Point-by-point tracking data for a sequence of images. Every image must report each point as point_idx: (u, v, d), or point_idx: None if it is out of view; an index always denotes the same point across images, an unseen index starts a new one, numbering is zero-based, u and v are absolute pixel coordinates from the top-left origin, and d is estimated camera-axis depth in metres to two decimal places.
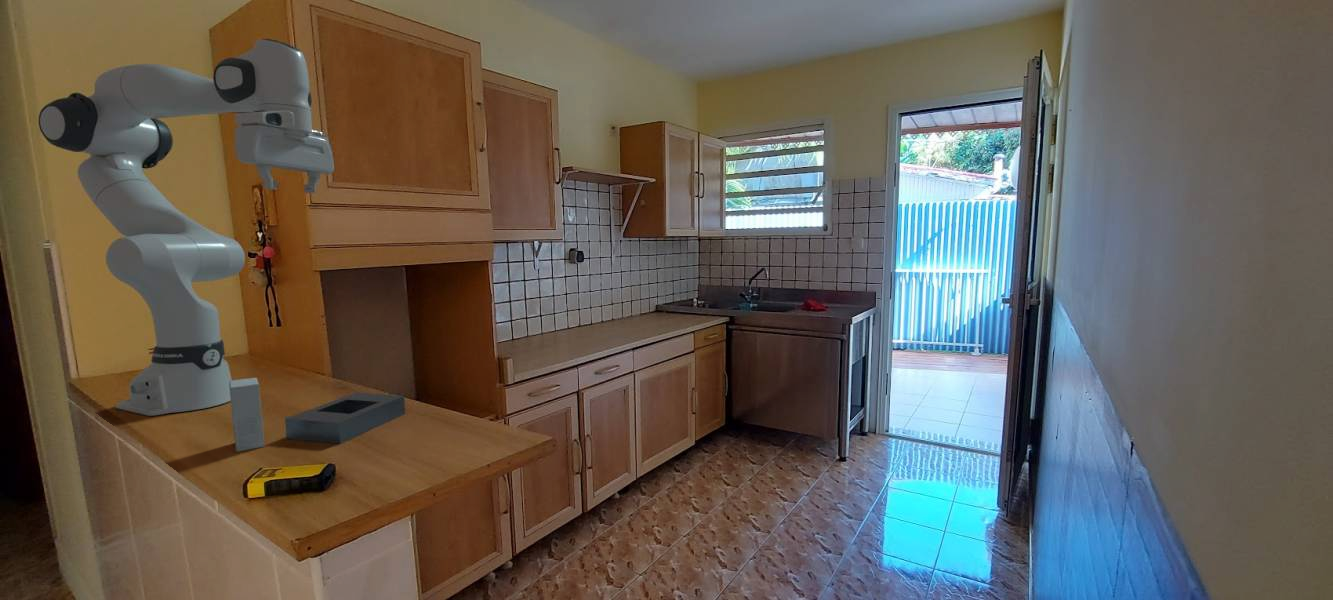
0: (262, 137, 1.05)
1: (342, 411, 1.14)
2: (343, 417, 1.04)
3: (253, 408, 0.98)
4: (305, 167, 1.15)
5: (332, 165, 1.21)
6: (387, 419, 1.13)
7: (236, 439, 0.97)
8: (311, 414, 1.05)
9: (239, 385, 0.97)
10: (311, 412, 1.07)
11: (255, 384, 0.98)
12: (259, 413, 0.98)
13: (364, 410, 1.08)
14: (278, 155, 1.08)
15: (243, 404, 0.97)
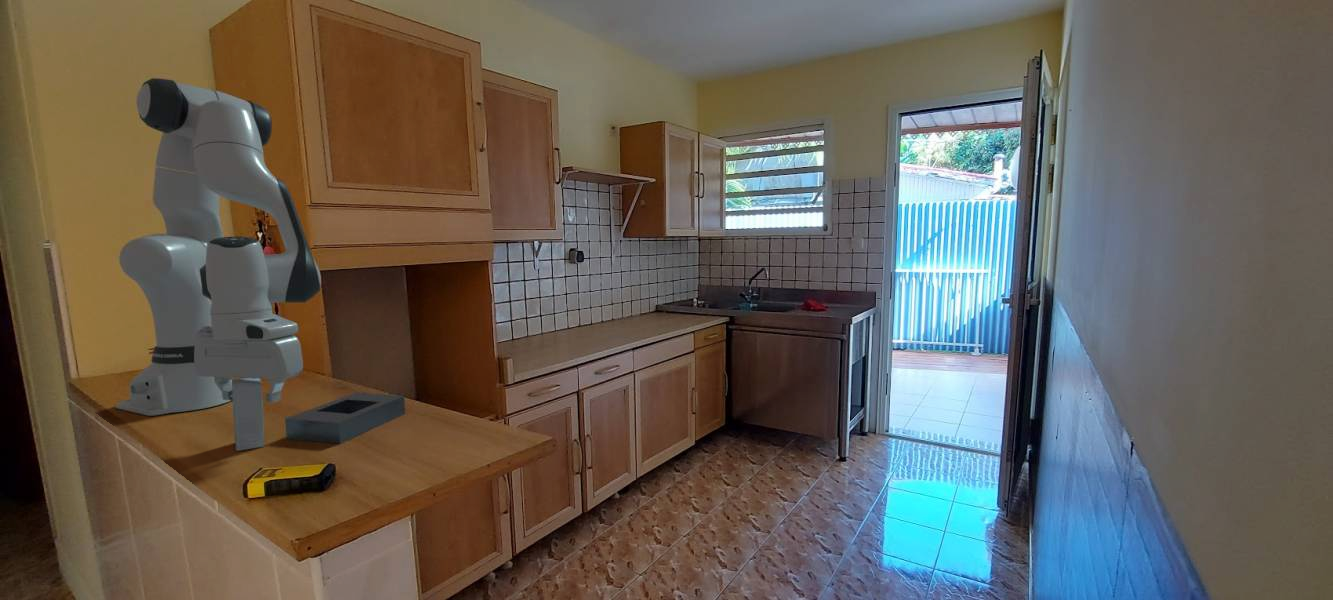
0: None
1: (342, 411, 1.14)
2: (343, 417, 1.04)
3: (255, 408, 0.98)
4: None
5: None
6: (387, 419, 1.13)
7: (237, 438, 0.97)
8: (311, 414, 1.05)
9: (242, 384, 0.97)
10: (311, 412, 1.07)
11: (258, 384, 0.98)
12: (260, 413, 0.99)
13: (364, 410, 1.08)
14: None
15: (245, 403, 0.97)
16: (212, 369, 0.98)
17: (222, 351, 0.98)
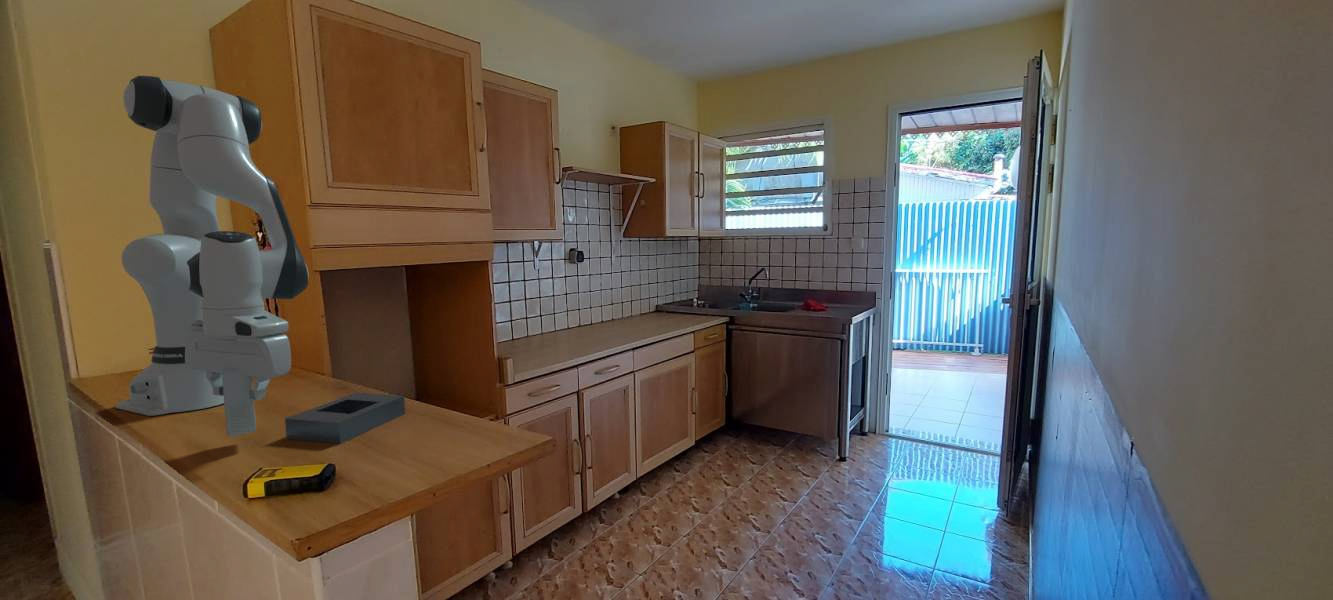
0: None
1: (342, 411, 1.14)
2: (343, 417, 1.04)
3: (244, 393, 0.97)
4: None
5: None
6: (387, 419, 1.13)
7: (227, 423, 0.96)
8: (311, 414, 1.05)
9: (231, 369, 0.96)
10: (311, 412, 1.07)
11: None
12: None
13: (364, 410, 1.08)
14: None
15: (235, 388, 0.96)
16: (202, 363, 0.98)
17: (212, 346, 0.97)
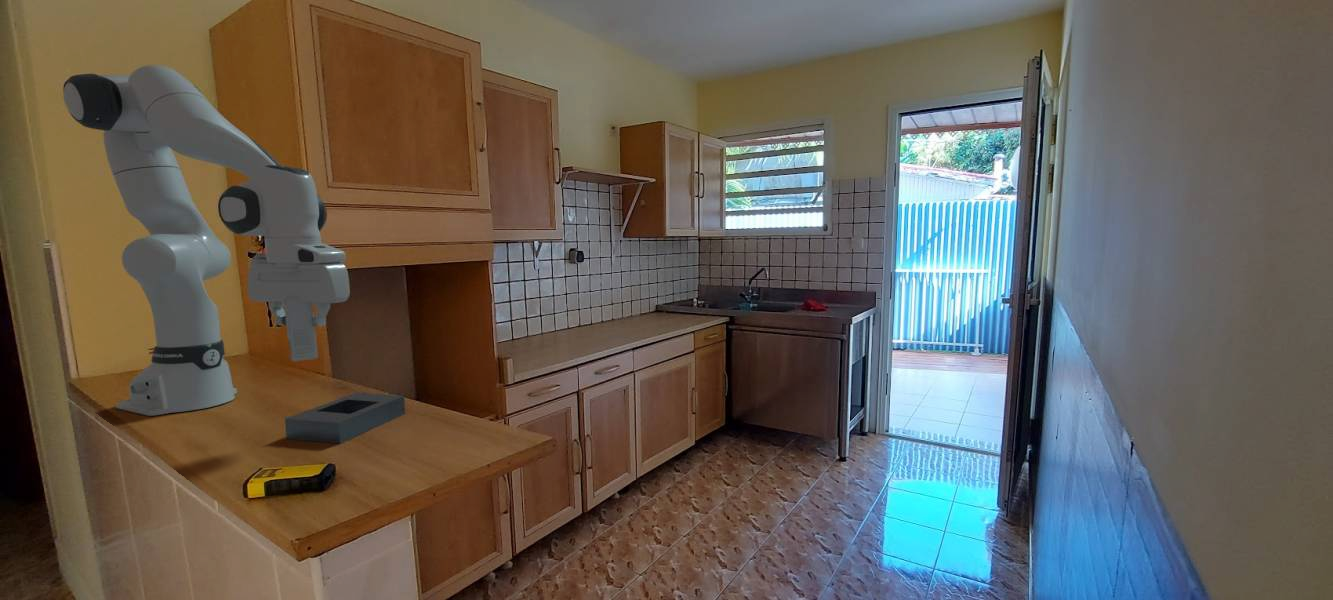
0: None
1: (342, 411, 1.14)
2: (343, 417, 1.04)
3: (307, 320, 1.02)
4: None
5: None
6: (387, 419, 1.13)
7: (292, 349, 1.01)
8: (311, 414, 1.05)
9: (294, 297, 1.01)
10: (311, 412, 1.07)
11: None
12: None
13: (364, 410, 1.08)
14: None
15: (298, 315, 1.01)
16: (265, 293, 1.02)
17: (274, 276, 1.02)
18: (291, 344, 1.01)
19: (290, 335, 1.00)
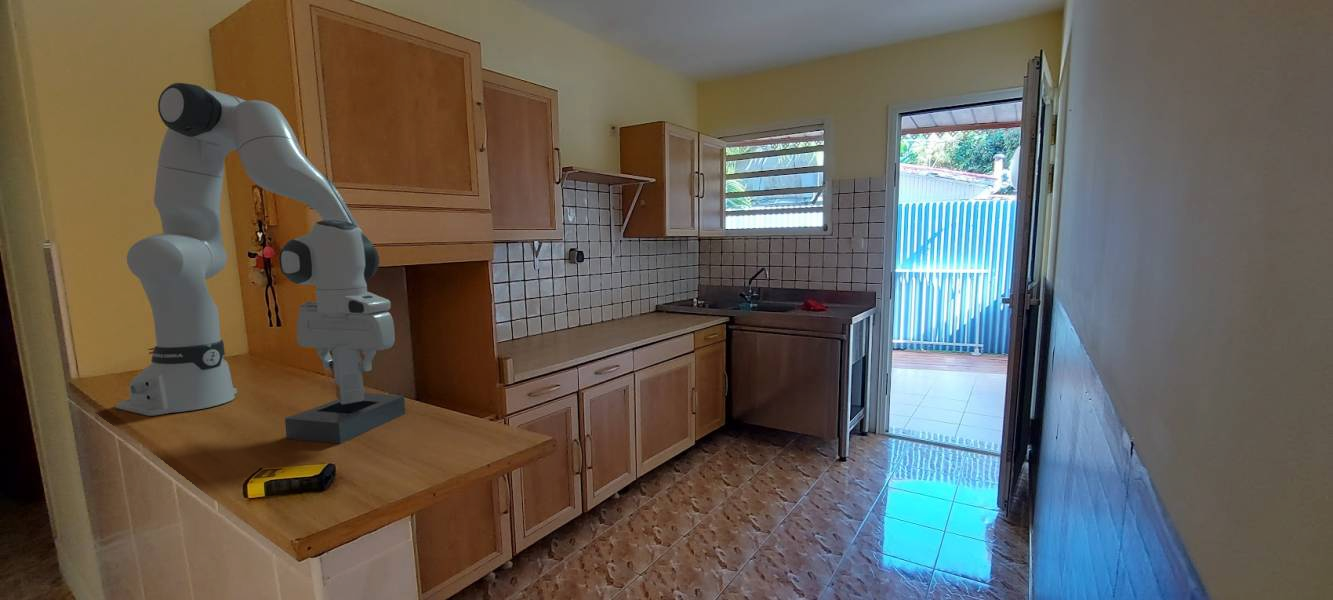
0: None
1: (342, 411, 1.14)
2: (343, 417, 1.04)
3: (355, 366, 1.08)
4: None
5: None
6: (387, 419, 1.13)
7: (341, 393, 1.07)
8: (311, 414, 1.05)
9: (343, 344, 1.07)
10: (311, 412, 1.07)
11: None
12: None
13: (364, 410, 1.08)
14: None
15: (347, 361, 1.07)
16: (314, 340, 1.08)
17: (323, 324, 1.08)
18: (340, 388, 1.07)
19: (339, 380, 1.07)
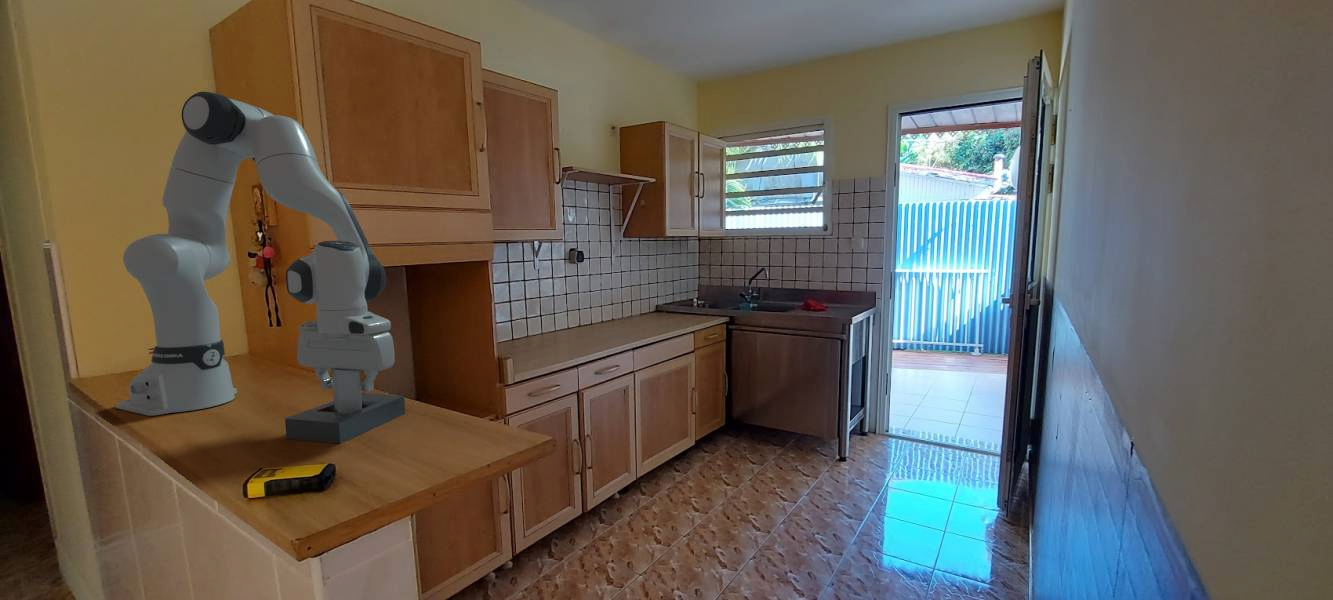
0: None
1: None
2: (343, 417, 1.04)
3: (354, 392, 1.08)
4: None
5: None
6: (387, 419, 1.13)
7: None
8: (311, 414, 1.05)
9: (343, 371, 1.07)
10: (311, 412, 1.07)
11: (356, 370, 1.08)
12: (359, 396, 1.09)
13: (364, 410, 1.08)
14: None
15: (347, 388, 1.07)
16: (314, 359, 1.09)
17: (323, 344, 1.08)
18: None
19: (339, 406, 1.07)
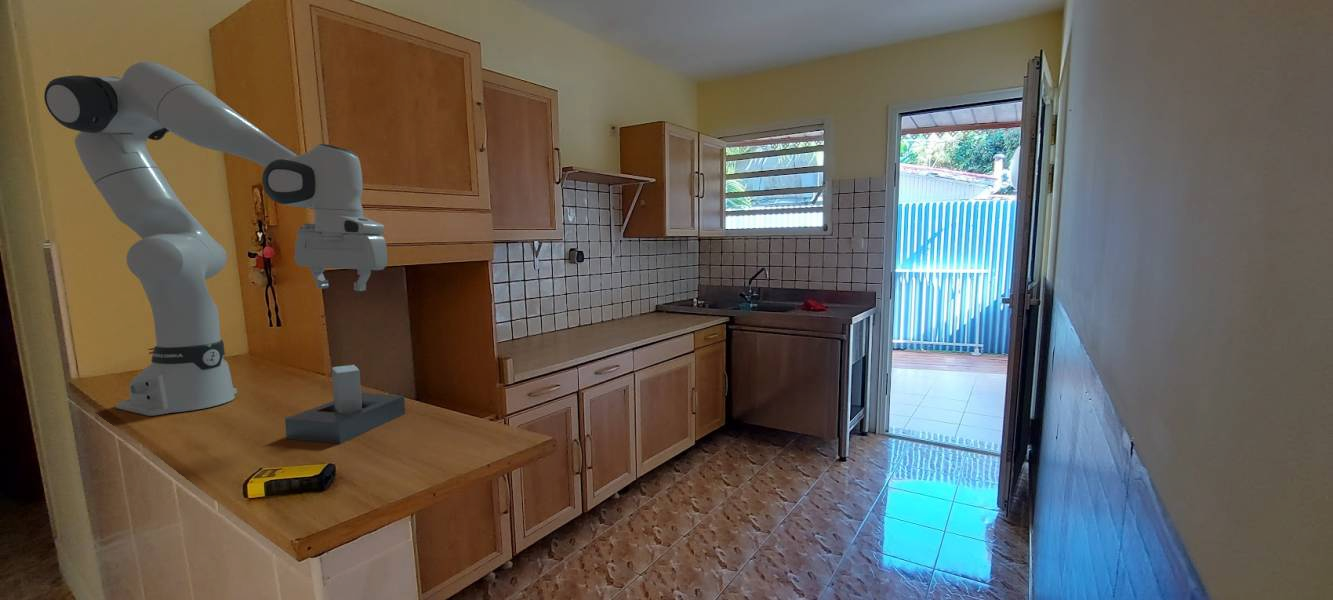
0: None
1: None
2: (343, 417, 1.04)
3: (354, 392, 1.08)
4: None
5: None
6: (387, 419, 1.13)
7: None
8: (311, 414, 1.05)
9: (343, 371, 1.07)
10: (311, 412, 1.07)
11: (356, 370, 1.08)
12: (359, 396, 1.09)
13: (364, 410, 1.08)
14: None
15: (347, 388, 1.07)
16: (310, 259, 1.14)
17: (320, 244, 1.14)
18: None
19: (339, 407, 1.07)
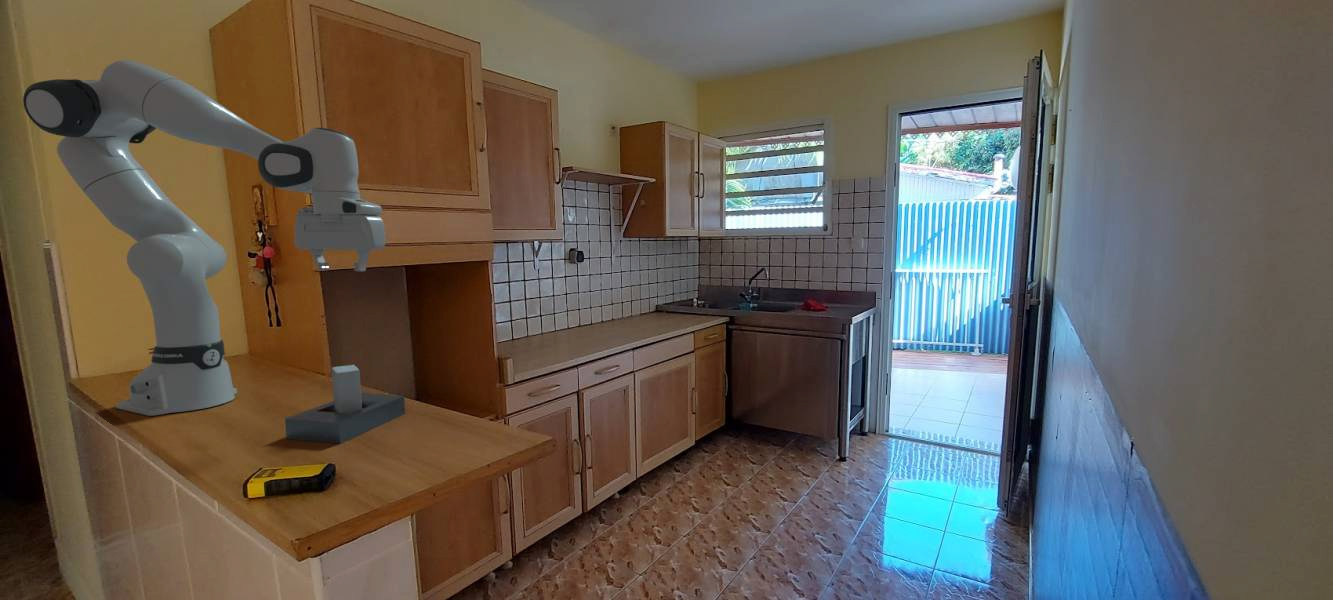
0: None
1: None
2: (343, 417, 1.04)
3: (354, 392, 1.08)
4: None
5: None
6: (387, 419, 1.13)
7: None
8: (311, 414, 1.05)
9: (343, 371, 1.07)
10: (311, 412, 1.07)
11: (356, 370, 1.08)
12: (359, 396, 1.09)
13: (364, 410, 1.08)
14: None
15: (347, 388, 1.07)
16: (310, 242, 1.16)
17: (319, 226, 1.16)
18: None
19: (339, 407, 1.07)
